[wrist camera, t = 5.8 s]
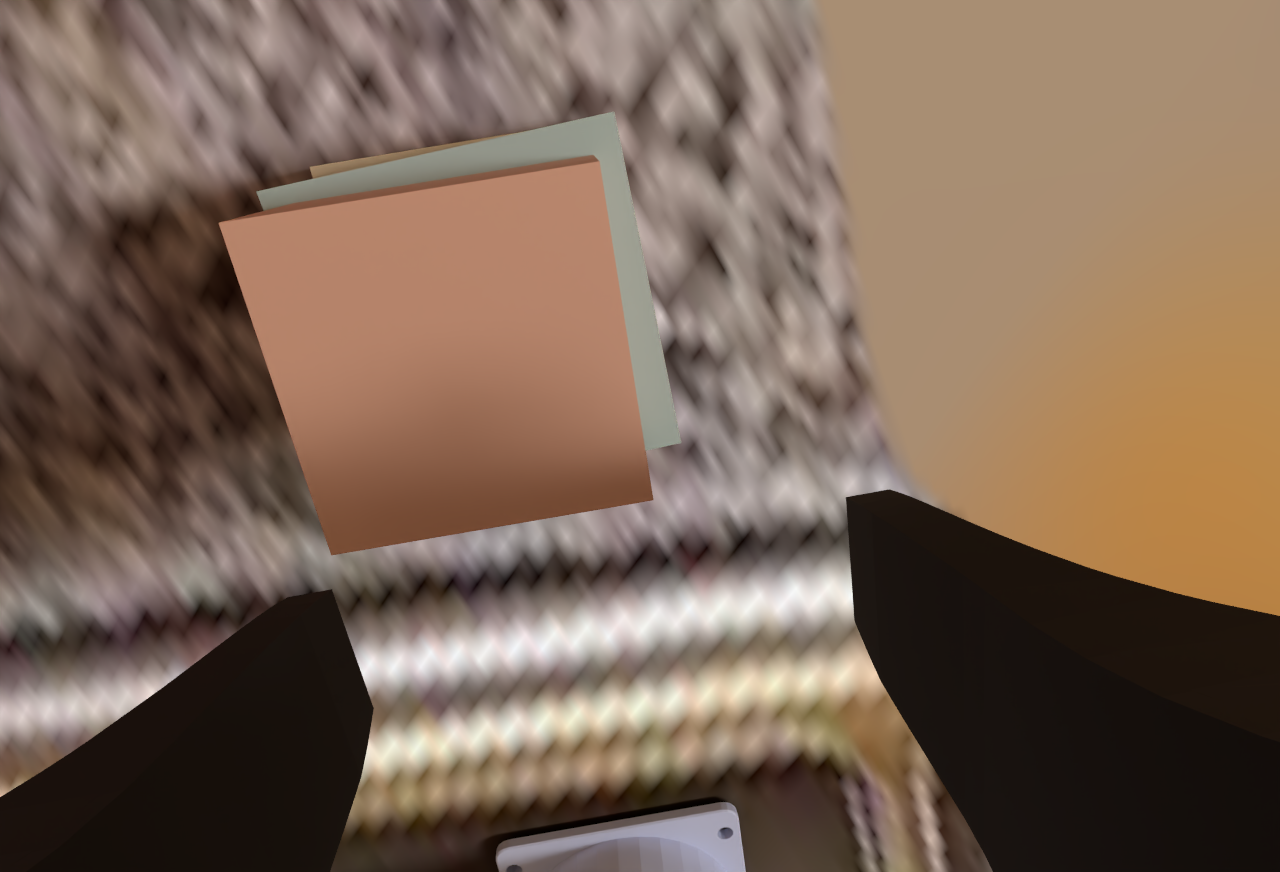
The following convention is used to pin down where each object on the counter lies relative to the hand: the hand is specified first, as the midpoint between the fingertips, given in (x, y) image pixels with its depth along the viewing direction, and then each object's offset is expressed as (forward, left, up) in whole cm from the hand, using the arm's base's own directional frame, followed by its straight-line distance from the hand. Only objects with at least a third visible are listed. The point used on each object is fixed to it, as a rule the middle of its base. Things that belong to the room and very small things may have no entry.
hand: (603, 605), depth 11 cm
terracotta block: (+3, +2, -5) cm, 6 cm away
